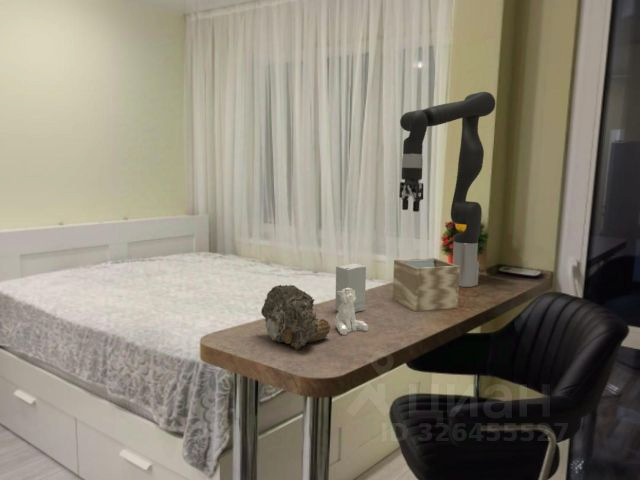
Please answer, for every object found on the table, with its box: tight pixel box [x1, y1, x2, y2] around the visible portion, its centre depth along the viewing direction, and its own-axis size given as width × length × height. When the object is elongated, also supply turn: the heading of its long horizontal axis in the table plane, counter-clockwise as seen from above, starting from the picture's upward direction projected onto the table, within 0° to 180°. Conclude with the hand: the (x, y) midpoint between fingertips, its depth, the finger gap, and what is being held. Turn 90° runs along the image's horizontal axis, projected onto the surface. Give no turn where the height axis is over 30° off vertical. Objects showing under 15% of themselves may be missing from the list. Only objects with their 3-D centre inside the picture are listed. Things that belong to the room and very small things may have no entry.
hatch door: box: [401, 258, 435, 268], centre depth 181 cm, size 13×13×1 cm
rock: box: [260, 284, 331, 350], centre depth 137 cm, size 18×14×15 cm
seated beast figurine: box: [334, 288, 369, 336], centre depth 148 cm, size 10×9×12 cm
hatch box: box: [392, 257, 460, 312], centre depth 178 cm, size 16×16×14 cm
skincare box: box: [334, 262, 367, 313], centre depth 167 cm, size 8×6×15 cm
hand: (410, 210), depth 195 cm, fingers open, 8 cm apart
